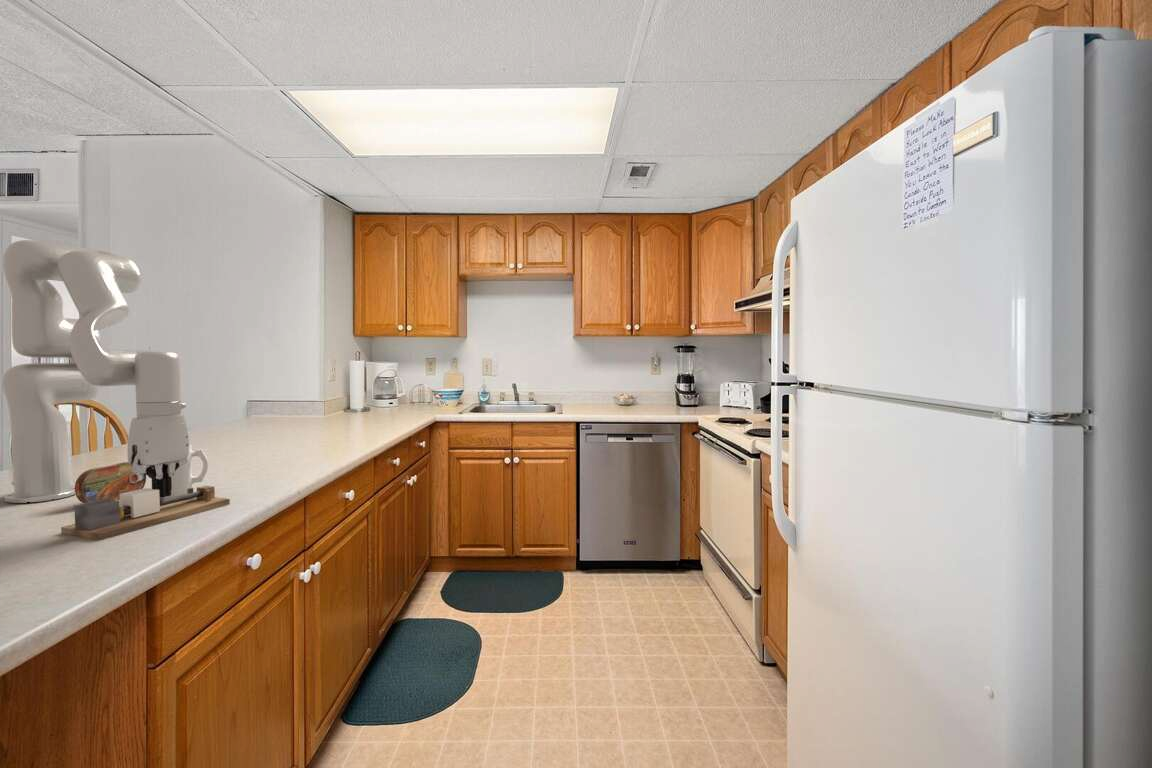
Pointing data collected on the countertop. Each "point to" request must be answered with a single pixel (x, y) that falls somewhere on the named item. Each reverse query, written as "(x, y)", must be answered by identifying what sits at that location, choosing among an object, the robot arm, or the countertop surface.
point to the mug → (187, 475)
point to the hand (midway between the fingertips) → (162, 495)
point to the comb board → (110, 520)
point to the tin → (108, 482)
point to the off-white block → (141, 502)
